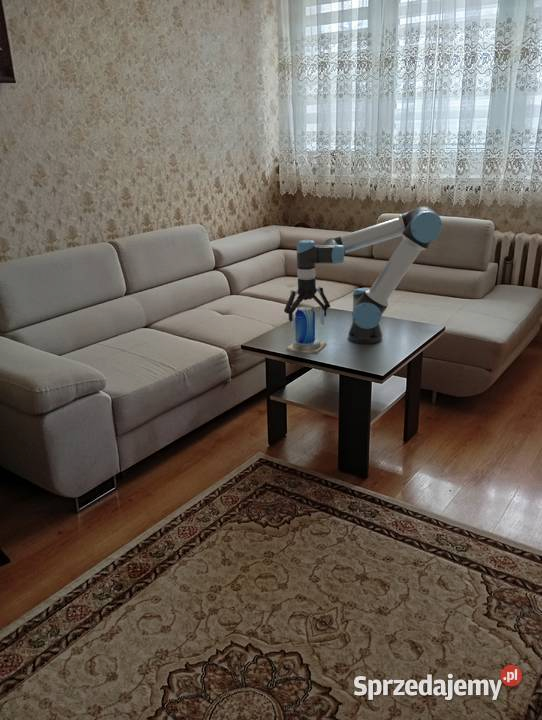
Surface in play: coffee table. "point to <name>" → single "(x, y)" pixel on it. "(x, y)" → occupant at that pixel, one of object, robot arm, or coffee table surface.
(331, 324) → the coffee table surface
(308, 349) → the hub board
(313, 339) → the beer can
